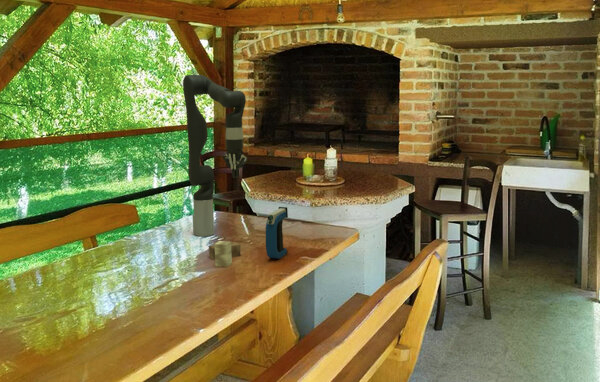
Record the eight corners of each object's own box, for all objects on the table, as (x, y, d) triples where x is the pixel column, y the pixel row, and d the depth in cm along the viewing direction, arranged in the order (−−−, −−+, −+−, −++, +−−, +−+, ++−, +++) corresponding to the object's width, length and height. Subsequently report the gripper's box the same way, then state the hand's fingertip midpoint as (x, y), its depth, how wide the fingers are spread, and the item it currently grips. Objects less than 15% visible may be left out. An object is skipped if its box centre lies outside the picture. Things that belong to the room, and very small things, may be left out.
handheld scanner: (289, 251, 267) (288, 206, 264) (276, 262, 252) (274, 214, 249) (279, 251, 269) (278, 206, 265) (265, 261, 254) (263, 214, 250)
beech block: (215, 266, 248) (214, 244, 247) (220, 262, 253) (219, 241, 251) (227, 266, 247) (226, 244, 245) (231, 263, 252) (231, 241, 250)
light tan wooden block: (213, 248, 256) (240, 244, 262) (208, 245, 260) (235, 242, 266) (213, 260, 257) (240, 256, 262) (209, 257, 261) (236, 253, 267)
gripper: (251, 137, 269) (252, 177, 272) (228, 136, 276) (229, 175, 279) (240, 139, 263) (241, 180, 266) (217, 137, 270) (218, 177, 273)
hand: (235, 177), depth 272 cm, fingers closed
